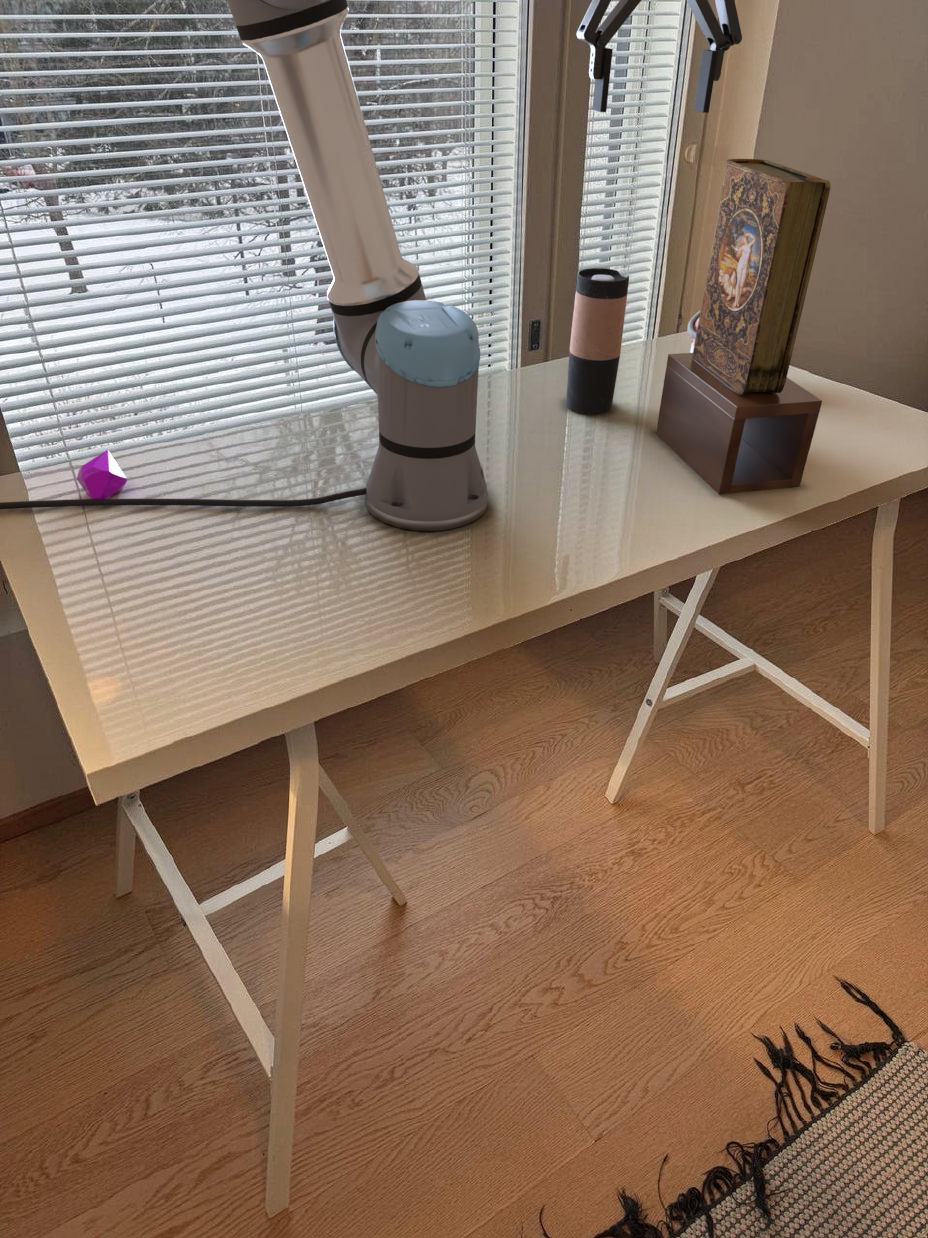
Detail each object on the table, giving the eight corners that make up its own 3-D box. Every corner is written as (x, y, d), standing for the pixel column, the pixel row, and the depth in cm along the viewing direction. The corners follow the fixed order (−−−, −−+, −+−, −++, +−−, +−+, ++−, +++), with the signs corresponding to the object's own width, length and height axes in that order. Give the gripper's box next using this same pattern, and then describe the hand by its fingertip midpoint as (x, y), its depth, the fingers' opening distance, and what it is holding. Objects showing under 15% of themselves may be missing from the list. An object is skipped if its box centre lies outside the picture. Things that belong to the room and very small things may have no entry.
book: (687, 356, 129) (721, 158, 115) (723, 354, 130) (761, 158, 116) (742, 399, 116) (788, 181, 102) (782, 396, 117) (832, 181, 103)
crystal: (77, 491, 116) (69, 457, 113) (119, 480, 118) (113, 447, 116) (92, 507, 112) (84, 473, 110) (135, 496, 115) (129, 462, 113)
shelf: (718, 494, 120) (736, 406, 114) (655, 433, 136) (668, 353, 129) (800, 486, 123) (822, 400, 116) (728, 428, 139) (744, 349, 132)
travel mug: (559, 411, 142) (572, 277, 131) (569, 394, 148) (582, 265, 137) (608, 418, 141) (625, 283, 129) (616, 401, 147) (633, 270, 135)
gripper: (584, -118, 96) (565, 114, 108) (797, -104, 101) (756, 114, 113) (560, -112, 102) (545, 106, 114) (762, -100, 107) (727, 107, 119)
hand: (650, 111), depth 114 cm, fingers open, 13 cm apart
